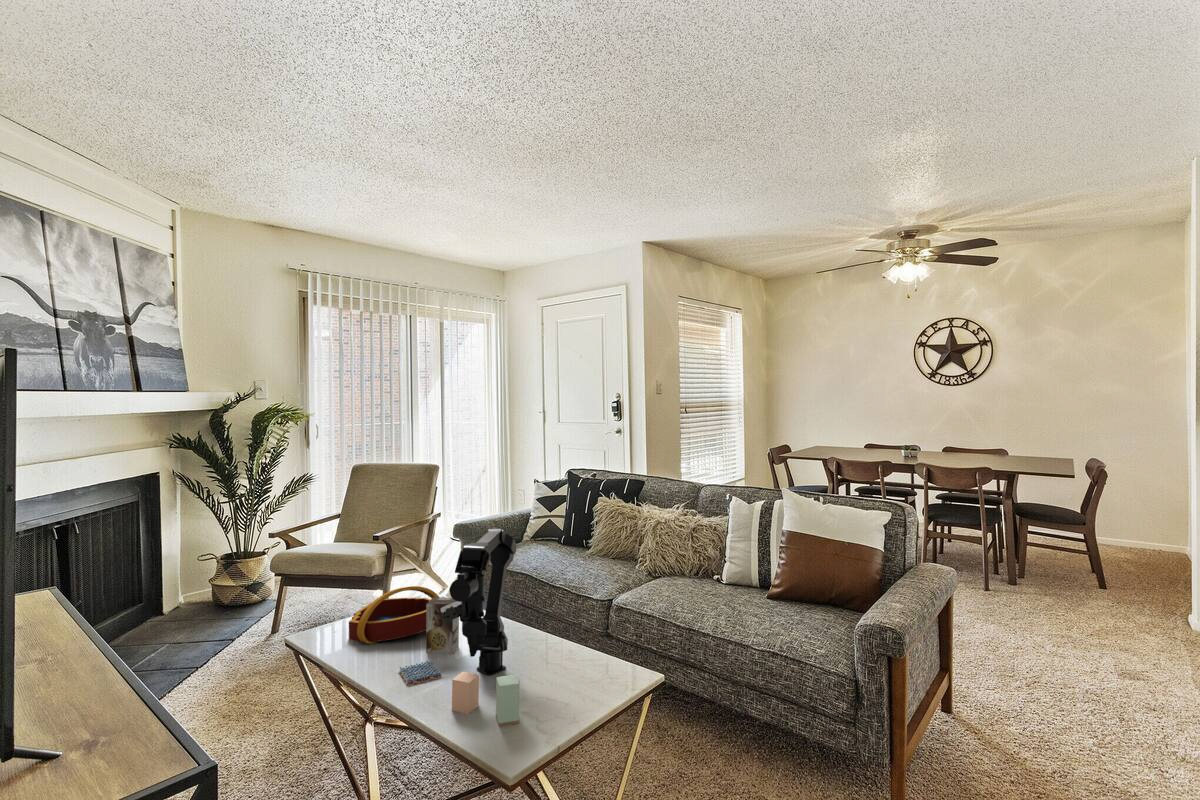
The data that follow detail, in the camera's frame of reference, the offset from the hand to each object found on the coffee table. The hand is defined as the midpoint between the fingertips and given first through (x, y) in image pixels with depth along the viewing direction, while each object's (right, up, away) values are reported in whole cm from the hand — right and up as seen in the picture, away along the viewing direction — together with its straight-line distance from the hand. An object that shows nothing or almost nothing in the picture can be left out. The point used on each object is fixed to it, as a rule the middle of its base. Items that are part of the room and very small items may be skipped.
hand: (471, 650), depth 157 cm
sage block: (+12, -13, -11) cm, 21 cm away
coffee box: (-16, -13, +31) cm, 37 cm away
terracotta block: (0, -13, -5) cm, 14 cm away
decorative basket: (-35, -14, +47) cm, 61 cm away
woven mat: (-18, -14, +13) cm, 26 cm away
